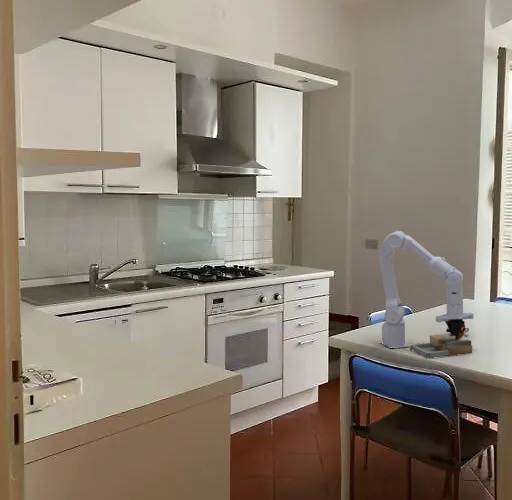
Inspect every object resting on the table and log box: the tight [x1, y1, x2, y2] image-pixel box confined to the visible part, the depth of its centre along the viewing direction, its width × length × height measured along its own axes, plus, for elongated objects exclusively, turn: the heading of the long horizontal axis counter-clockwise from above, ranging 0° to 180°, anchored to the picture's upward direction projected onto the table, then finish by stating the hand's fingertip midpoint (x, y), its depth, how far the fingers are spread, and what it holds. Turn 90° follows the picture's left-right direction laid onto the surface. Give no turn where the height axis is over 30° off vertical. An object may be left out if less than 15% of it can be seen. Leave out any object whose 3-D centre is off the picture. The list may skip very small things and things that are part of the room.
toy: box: [445, 323, 470, 338], centre depth 226 cm, size 8×6×15 cm
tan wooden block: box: [429, 333, 446, 346], centre depth 204 cm, size 4×4×3 cm
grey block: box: [439, 332, 455, 342], centre depth 205 cm, size 4×4×3 cm
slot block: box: [432, 339, 473, 356], centre depth 206 cm, size 12×10×4 cm
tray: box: [409, 342, 450, 359], centre depth 204 cm, size 12×8×2 cm
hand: (454, 339), depth 206 cm, fingers closed
